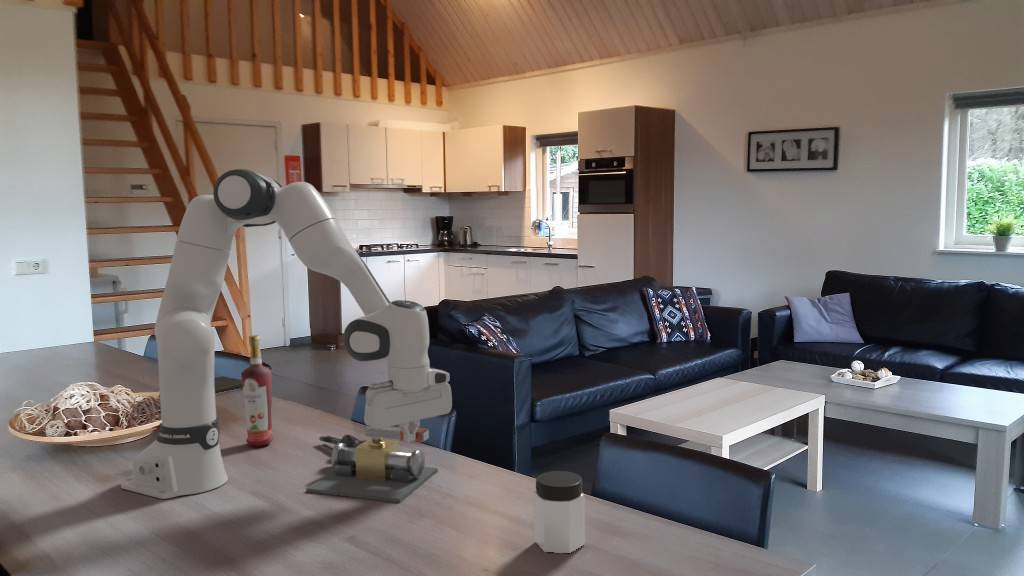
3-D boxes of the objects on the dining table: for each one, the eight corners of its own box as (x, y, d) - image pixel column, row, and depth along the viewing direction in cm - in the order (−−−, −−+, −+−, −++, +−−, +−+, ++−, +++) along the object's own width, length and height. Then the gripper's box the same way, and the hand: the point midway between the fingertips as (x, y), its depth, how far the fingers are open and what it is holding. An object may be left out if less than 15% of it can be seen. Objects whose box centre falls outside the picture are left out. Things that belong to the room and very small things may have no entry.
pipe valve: (330, 475, 172) (328, 443, 171) (346, 465, 178) (344, 433, 177) (412, 484, 165) (411, 450, 165) (426, 473, 172) (425, 440, 171)
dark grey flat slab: (161, 396, 252) (160, 389, 252) (223, 382, 270) (222, 376, 270) (189, 403, 243) (188, 396, 242) (251, 388, 261) (251, 381, 261)
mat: (306, 491, 165) (306, 488, 164) (351, 462, 182) (351, 459, 182) (400, 502, 158) (400, 498, 158) (437, 471, 176) (437, 467, 176)
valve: (412, 465, 184) (358, 467, 174) (355, 449, 203) (303, 450, 193) (415, 438, 185) (360, 438, 175) (358, 425, 204) (306, 424, 194)
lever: (365, 441, 170) (365, 427, 170) (372, 437, 173) (371, 423, 173) (423, 447, 166) (423, 432, 165) (429, 442, 169) (429, 428, 168)
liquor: (280, 440, 201) (274, 333, 198) (266, 449, 194) (260, 339, 191) (254, 439, 202) (248, 333, 199) (239, 448, 195) (233, 338, 192)
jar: (556, 529, 144) (555, 466, 142) (592, 541, 138) (592, 476, 137) (525, 546, 137) (524, 480, 135) (563, 559, 132) (562, 491, 130)
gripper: (374, 387, 155) (375, 455, 156) (455, 373, 168) (456, 434, 170) (357, 382, 159) (359, 447, 161) (438, 368, 173) (439, 428, 174)
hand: (409, 441), depth 165 cm, fingers closed
